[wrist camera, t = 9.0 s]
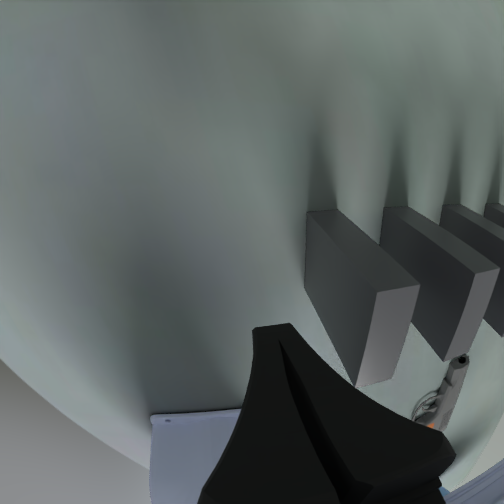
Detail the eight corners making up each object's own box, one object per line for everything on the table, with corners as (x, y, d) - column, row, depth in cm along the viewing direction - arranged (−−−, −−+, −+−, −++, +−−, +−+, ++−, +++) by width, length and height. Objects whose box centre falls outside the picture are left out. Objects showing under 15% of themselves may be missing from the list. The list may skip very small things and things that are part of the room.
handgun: (365, 401, 26) (464, 350, 26) (367, 458, 33) (442, 420, 33) (372, 414, 25) (473, 361, 25) (371, 468, 32) (448, 429, 32)
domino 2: (374, 278, 19) (442, 362, 12) (383, 207, 17) (475, 273, 10) (397, 275, 20) (468, 352, 12) (408, 206, 17) (500, 268, 10)
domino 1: (304, 288, 19) (354, 388, 12) (306, 211, 17) (377, 292, 10) (332, 284, 19) (391, 378, 12) (337, 209, 17) (420, 284, 10)
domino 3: (430, 269, 20) (501, 337, 13) (442, 204, 18) (531, 259, 11) (447, 266, 20) (518, 329, 13) (460, 204, 18) (546, 255, 11)
